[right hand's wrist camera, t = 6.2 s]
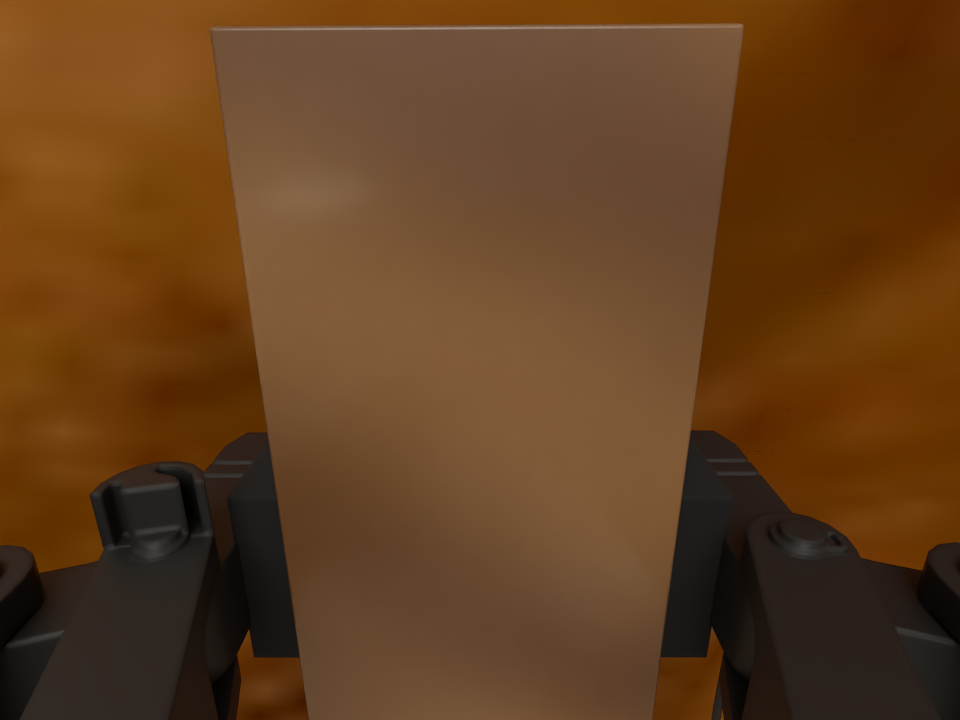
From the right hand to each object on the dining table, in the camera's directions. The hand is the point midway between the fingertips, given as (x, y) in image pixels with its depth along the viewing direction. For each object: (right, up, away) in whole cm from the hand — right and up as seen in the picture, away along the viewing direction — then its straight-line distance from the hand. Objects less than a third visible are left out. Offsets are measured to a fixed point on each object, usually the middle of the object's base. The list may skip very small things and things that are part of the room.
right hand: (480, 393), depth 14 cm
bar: (0, -20, +8) cm, 22 cm away
